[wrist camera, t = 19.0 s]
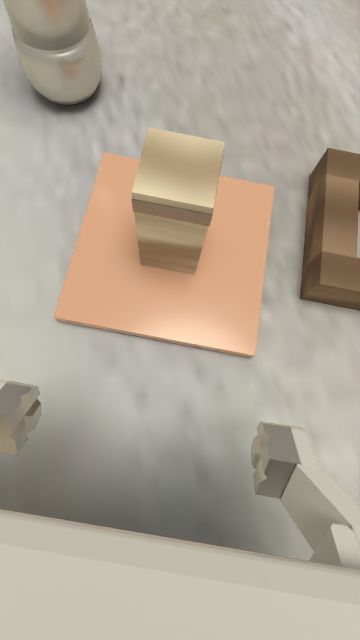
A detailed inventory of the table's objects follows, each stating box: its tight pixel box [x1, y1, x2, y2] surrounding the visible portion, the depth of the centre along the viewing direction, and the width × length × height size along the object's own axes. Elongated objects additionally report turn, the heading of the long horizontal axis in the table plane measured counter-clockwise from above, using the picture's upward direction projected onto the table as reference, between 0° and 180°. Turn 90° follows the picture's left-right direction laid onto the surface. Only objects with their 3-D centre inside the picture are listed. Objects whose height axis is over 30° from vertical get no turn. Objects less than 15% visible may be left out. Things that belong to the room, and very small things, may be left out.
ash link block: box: [131, 127, 225, 275], centre depth 19 cm, size 4×4×8 cm
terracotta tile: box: [54, 153, 274, 358], centre depth 24 cm, size 14×14×1 cm
